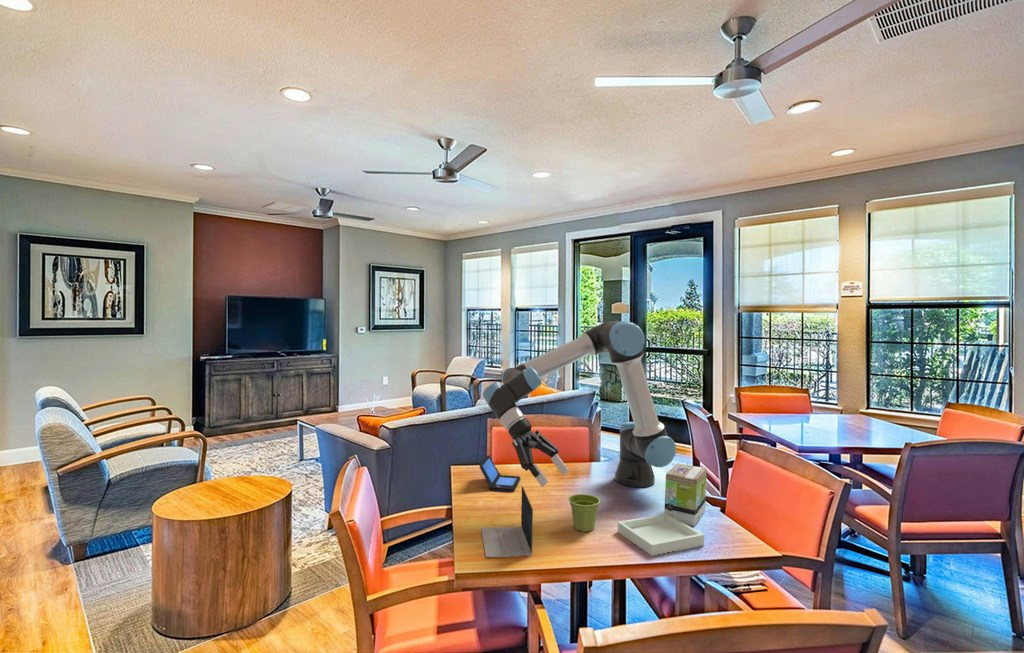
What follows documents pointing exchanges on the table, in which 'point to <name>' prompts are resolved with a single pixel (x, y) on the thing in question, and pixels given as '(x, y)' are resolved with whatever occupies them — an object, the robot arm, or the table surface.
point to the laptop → (511, 535)
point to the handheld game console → (498, 477)
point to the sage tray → (660, 534)
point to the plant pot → (584, 511)
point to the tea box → (685, 493)
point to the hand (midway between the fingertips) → (556, 478)
